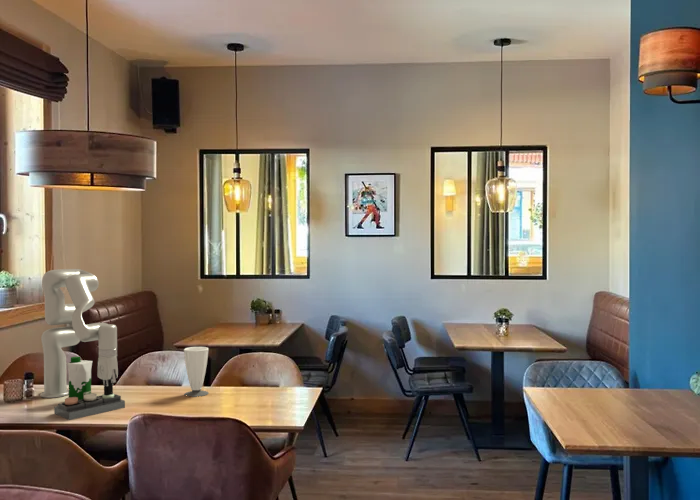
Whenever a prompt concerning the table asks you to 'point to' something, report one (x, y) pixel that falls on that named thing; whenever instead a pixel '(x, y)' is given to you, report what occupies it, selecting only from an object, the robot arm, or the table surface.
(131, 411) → the table surface
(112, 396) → the button sage
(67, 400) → the button terracotta
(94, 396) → the button cream
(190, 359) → the cup
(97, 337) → the robot arm
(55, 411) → the panel
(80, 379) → the milk carton
